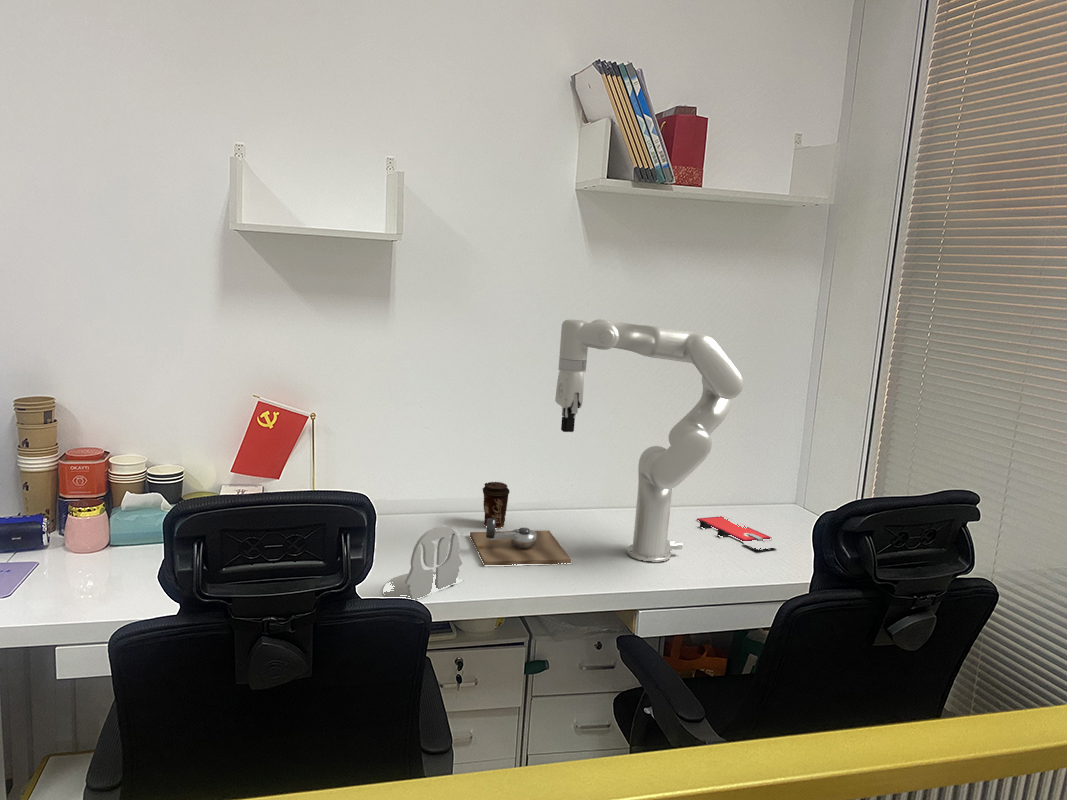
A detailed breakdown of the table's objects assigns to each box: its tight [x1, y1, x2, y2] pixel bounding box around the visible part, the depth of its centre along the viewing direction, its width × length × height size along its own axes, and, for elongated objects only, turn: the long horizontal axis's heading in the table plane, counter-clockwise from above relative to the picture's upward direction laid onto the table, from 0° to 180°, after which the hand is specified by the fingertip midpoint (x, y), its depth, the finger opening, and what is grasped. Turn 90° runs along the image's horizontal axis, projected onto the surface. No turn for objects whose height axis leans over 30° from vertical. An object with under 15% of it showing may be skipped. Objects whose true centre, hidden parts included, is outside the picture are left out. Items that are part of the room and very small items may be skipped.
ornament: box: [383, 525, 463, 601], centre depth 195 cm, size 22×13×17 cm, turn 142°
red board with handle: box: [696, 515, 773, 552], centre depth 252 cm, size 30×3×15 cm
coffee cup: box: [481, 481, 511, 529], centre depth 243 cm, size 9×8×13 cm
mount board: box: [469, 530, 572, 566], centre depth 225 cm, size 24×23×2 cm
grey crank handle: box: [485, 518, 537, 547], centre depth 222 cm, size 15×7×8 cm, turn 112°
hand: (567, 431), depth 220 cm, fingers closed
